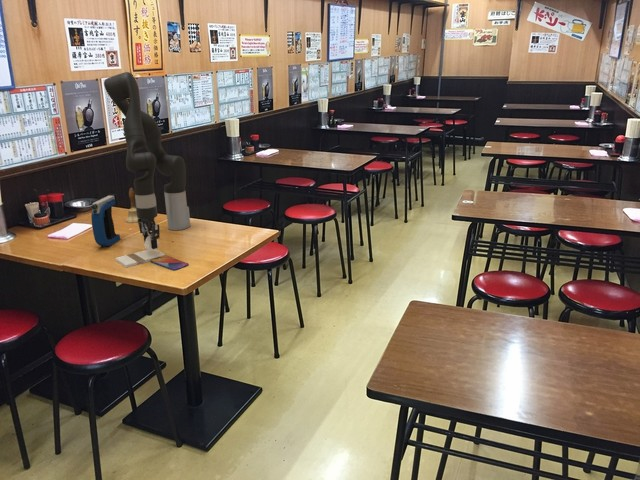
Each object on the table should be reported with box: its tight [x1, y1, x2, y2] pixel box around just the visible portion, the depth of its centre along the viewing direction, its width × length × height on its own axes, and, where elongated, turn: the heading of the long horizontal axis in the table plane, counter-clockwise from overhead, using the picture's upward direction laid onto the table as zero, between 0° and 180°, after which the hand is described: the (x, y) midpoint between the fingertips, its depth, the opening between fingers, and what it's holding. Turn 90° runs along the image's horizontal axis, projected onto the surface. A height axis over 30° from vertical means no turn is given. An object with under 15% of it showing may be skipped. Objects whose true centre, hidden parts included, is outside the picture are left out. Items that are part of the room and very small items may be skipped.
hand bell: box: [125, 187, 139, 224], centre depth 247 cm, size 8×8×16 cm
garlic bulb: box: [144, 236, 160, 250], centre depth 202 cm, size 6×6×5 cm
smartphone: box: [149, 254, 190, 272], centre depth 197 cm, size 7×15×1 cm, turn 53°
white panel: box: [114, 249, 166, 268], centre depth 201 cm, size 16×10×1 cm, turn 133°
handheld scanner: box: [90, 193, 121, 247], centre depth 215 cm, size 5×16×20 cm, turn 174°
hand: (151, 246), depth 203 cm, fingers closed on garlic bulb, 5 cm apart
